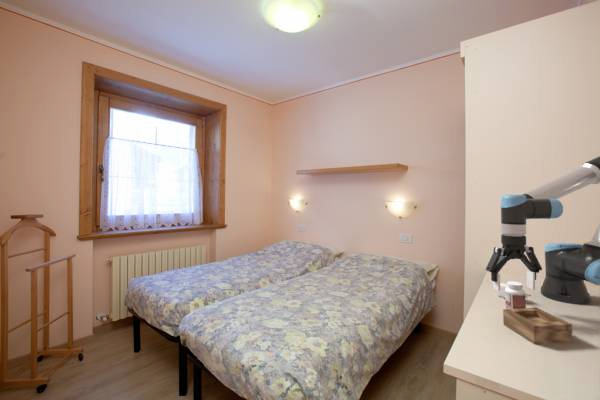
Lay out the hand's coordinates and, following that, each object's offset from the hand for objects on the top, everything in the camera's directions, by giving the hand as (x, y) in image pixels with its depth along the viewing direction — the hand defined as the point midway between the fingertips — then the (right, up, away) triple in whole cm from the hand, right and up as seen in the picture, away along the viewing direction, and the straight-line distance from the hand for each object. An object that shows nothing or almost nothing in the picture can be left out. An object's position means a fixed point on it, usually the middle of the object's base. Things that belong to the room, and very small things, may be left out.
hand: (513, 289), depth 103 cm
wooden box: (-5, -10, -15) cm, 18 cm away
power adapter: (+8, -8, +10) cm, 16 cm away
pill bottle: (+1, -9, 0) cm, 9 cm away
